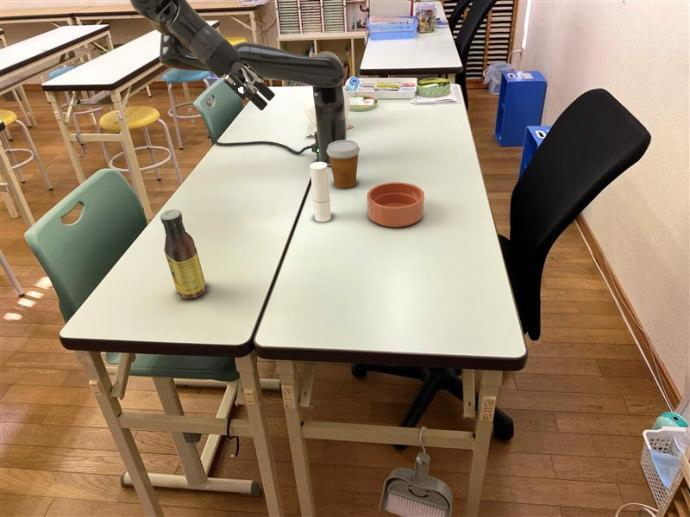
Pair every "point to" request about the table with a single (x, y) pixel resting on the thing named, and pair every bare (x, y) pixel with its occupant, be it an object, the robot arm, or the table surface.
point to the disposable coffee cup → (344, 162)
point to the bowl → (395, 204)
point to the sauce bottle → (182, 256)
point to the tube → (320, 191)
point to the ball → (310, 107)
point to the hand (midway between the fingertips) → (268, 102)
